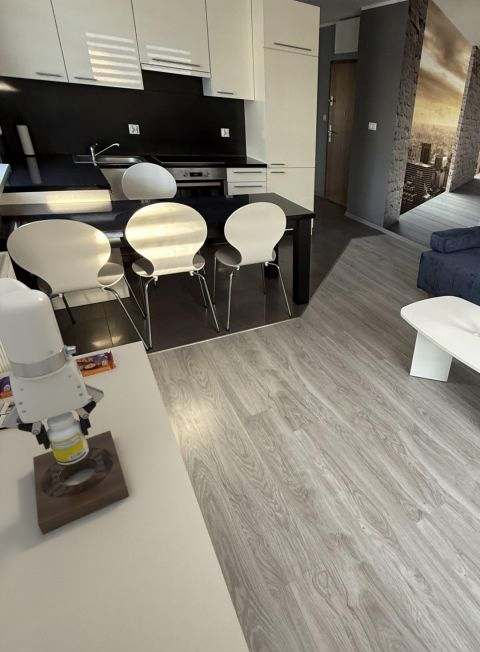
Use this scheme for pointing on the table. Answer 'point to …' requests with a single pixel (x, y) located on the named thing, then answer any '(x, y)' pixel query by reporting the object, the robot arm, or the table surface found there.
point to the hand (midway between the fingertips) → (66, 436)
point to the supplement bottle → (66, 438)
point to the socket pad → (79, 499)
